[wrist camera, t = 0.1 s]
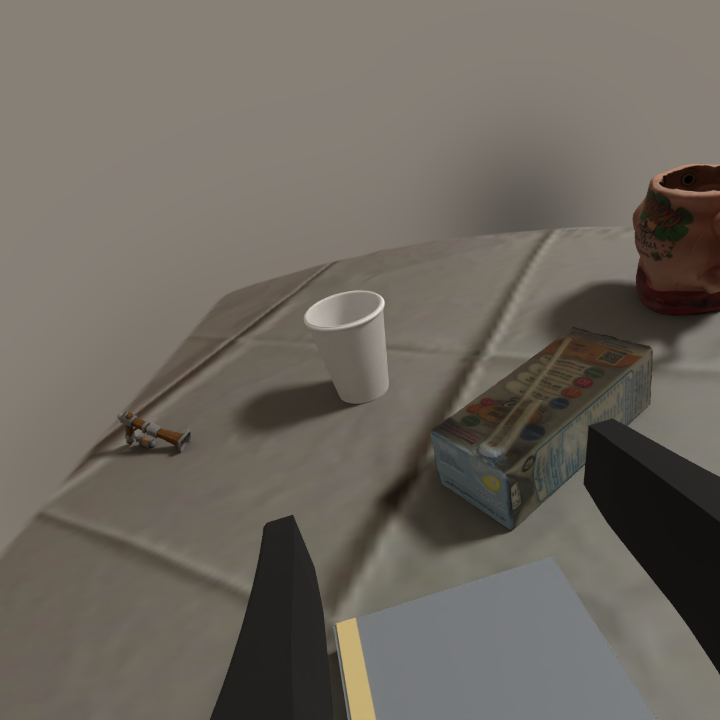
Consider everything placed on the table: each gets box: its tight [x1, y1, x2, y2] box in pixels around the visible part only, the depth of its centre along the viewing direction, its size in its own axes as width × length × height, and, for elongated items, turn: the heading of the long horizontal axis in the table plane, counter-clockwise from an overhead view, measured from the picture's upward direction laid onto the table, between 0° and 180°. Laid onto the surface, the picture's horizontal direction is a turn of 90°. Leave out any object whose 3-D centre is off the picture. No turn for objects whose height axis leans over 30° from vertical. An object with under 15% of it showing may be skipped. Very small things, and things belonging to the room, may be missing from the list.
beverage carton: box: [430, 327, 653, 530], centre depth 42 cm, size 8×19×7 cm, turn 127°
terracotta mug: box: [633, 164, 720, 314], centre depth 54 cm, size 20×12×14 cm, turn 0°
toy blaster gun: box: [118, 412, 190, 453], centre depth 55 cm, size 2×8×4 cm, turn 73°
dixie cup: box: [304, 291, 389, 404], centre depth 54 cm, size 8×8×10 cm
